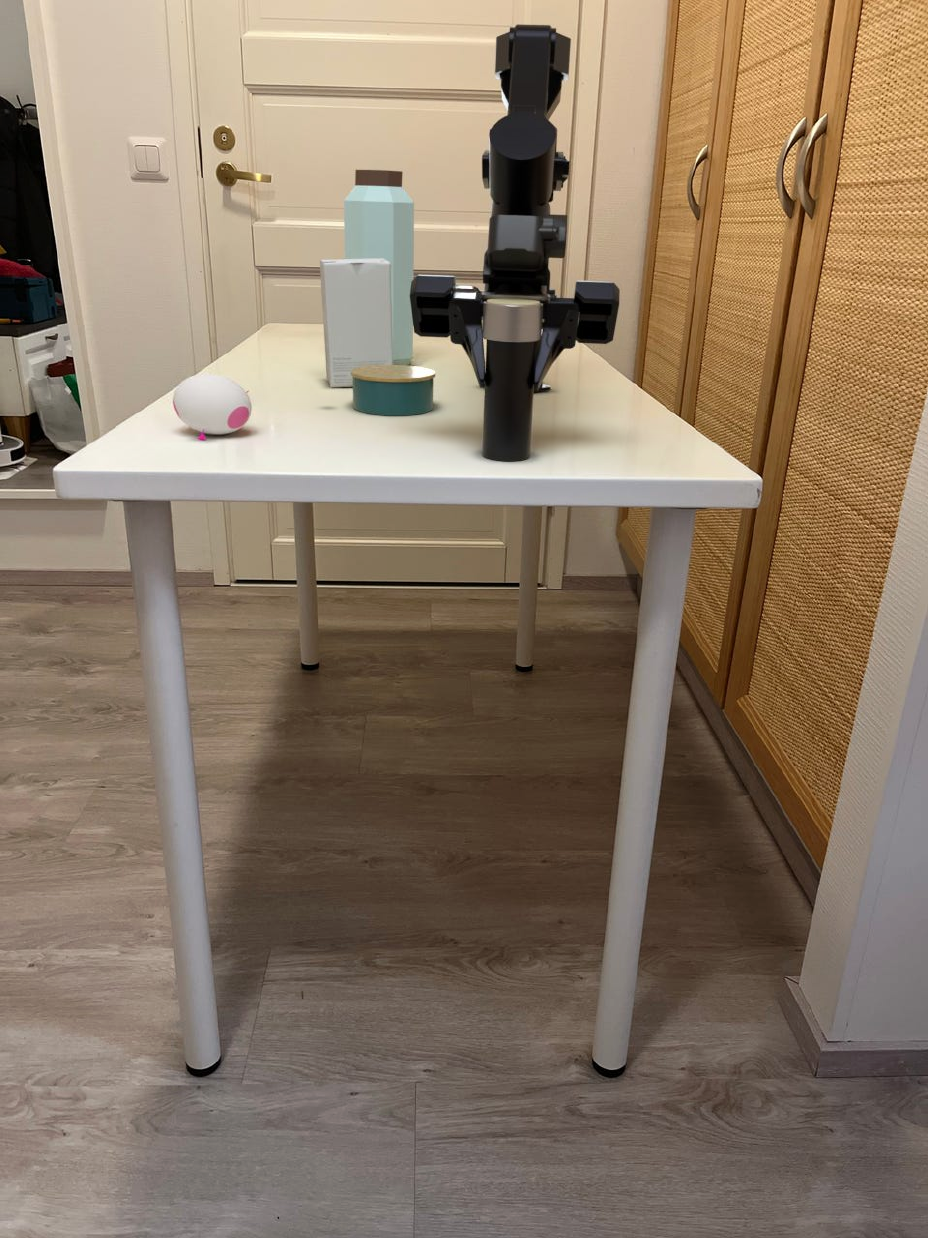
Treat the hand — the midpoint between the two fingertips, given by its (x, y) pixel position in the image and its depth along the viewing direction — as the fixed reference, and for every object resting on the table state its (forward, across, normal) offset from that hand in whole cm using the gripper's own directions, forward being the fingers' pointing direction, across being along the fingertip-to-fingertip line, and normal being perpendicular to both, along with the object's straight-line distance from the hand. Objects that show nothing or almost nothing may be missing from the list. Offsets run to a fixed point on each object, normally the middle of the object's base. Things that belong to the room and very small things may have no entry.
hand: (508, 386), depth 84 cm
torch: (+4, 0, +6) cm, 7 cm away
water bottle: (-32, -20, +42) cm, 57 cm away
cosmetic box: (-20, -20, +30) cm, 41 cm away
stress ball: (+1, -28, +8) cm, 30 cm away
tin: (-10, -13, +20) cm, 26 cm away
